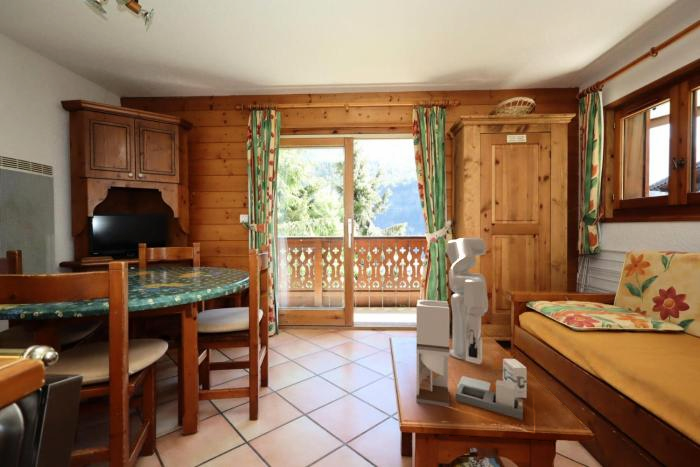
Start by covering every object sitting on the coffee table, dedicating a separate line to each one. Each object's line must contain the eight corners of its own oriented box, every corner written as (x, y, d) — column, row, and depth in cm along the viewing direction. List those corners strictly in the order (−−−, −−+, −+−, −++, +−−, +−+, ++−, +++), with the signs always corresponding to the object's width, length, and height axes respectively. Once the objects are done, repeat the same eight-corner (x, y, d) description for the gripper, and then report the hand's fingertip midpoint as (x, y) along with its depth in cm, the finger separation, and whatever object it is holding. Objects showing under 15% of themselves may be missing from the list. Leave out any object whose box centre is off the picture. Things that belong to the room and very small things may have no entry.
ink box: (502, 387, 115) (502, 358, 115) (514, 387, 115) (514, 358, 115) (514, 399, 107) (514, 367, 107) (527, 399, 106) (527, 367, 107)
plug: (467, 357, 120) (467, 335, 119) (481, 360, 117) (482, 338, 117) (465, 360, 116) (465, 338, 116) (480, 364, 113) (480, 341, 113)
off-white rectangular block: (496, 404, 103) (496, 379, 103) (514, 409, 100) (514, 383, 100) (495, 410, 100) (495, 384, 100) (514, 415, 97) (514, 388, 97)
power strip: (460, 391, 112) (460, 382, 112) (523, 408, 101) (523, 398, 101) (455, 401, 105) (455, 392, 105) (522, 421, 94) (522, 410, 94)
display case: (416, 401, 105) (416, 305, 105) (417, 387, 115) (417, 299, 115) (449, 406, 102) (449, 307, 102) (447, 391, 112) (447, 301, 112)
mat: (462, 377, 123) (462, 375, 123) (490, 384, 117) (490, 382, 117) (456, 388, 114) (456, 387, 114) (487, 397, 108) (487, 395, 108)
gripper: (467, 304, 125) (467, 345, 125) (460, 313, 111) (459, 360, 111) (486, 306, 121) (486, 349, 121) (481, 316, 107) (481, 365, 107)
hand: (473, 354), depth 116 cm, fingers closed on plug, 4 cm apart
